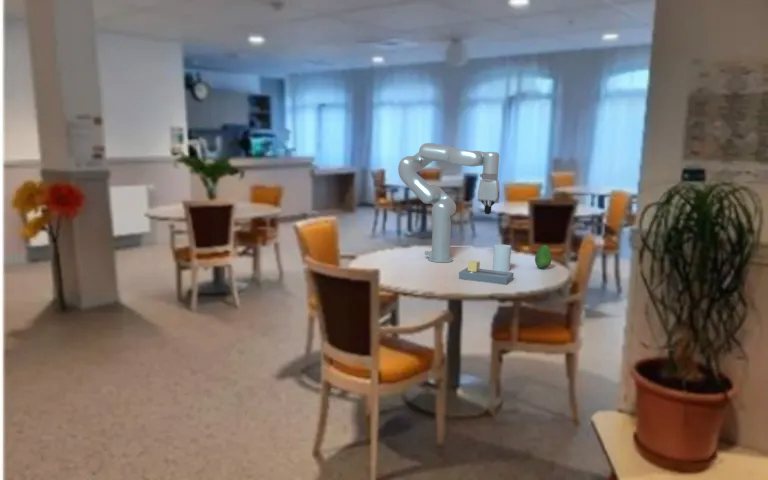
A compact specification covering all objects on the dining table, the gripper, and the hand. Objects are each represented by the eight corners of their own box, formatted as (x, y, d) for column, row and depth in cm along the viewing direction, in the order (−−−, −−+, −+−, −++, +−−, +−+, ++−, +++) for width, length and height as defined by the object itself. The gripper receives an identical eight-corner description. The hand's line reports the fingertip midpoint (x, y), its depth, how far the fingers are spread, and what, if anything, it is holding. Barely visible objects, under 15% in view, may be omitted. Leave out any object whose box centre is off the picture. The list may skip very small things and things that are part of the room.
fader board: (458, 278, 265) (459, 272, 264) (467, 273, 275) (467, 267, 275) (506, 284, 255) (506, 277, 254) (513, 279, 266) (513, 272, 265)
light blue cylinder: (510, 269, 287) (512, 245, 285) (508, 272, 279) (509, 248, 277) (494, 267, 289) (495, 243, 287) (491, 271, 282) (492, 246, 280)
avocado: (554, 269, 287) (555, 245, 285) (542, 271, 284) (543, 246, 282) (542, 266, 294) (543, 243, 292) (530, 267, 291) (532, 244, 288)
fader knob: (467, 270, 266) (468, 262, 265) (471, 268, 270) (471, 260, 270) (476, 271, 264) (476, 263, 263) (479, 269, 269) (479, 261, 268)
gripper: (473, 176, 288) (470, 213, 291) (502, 178, 281) (499, 216, 284) (478, 175, 294) (476, 211, 297) (507, 177, 287) (504, 214, 290)
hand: (487, 213), depth 291 cm, fingers closed
